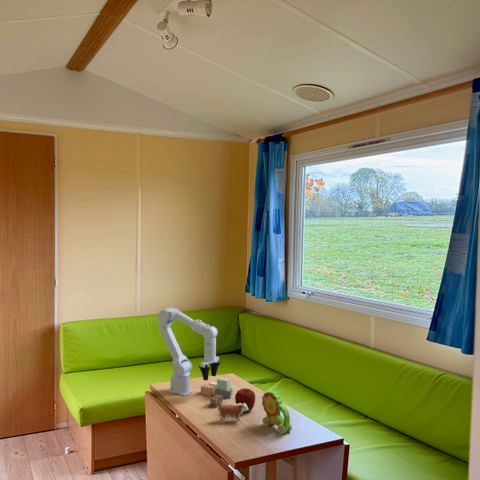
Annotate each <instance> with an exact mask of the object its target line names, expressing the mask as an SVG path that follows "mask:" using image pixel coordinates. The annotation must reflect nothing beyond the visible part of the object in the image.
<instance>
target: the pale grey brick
mask: <svg viewBox="0 0 480 480" xmlns="http://www.w3.org/2000/svg"><path fill="white" fill-rule="evenodd" d="M208 385H210V386H214V393H215V389H216V388H217V381H211V382H209V383H208Z"/></svg>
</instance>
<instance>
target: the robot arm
mask: <svg viewBox="0 0 480 480" xmlns="http://www.w3.org/2000/svg"><path fill="white" fill-rule="evenodd" d="M157 320H158V330H159V331H160V333H161V336H162V338H163V340H164V343H165V345H166V347H167V349H168V351H169V353H170V355H171V358H172V364H171V365H172V368H173V369H172V370H173V374H172V375H171V377H170V390H169V393H171V394H176V395H179V396H187V395H188V394H190V393H192V392H194V390H193V389H190V385H191V383H190V382H191V381H190V379H191V377H190V376H191V371H192V369H193V364H192V362H191V361H190V360H189V358H188V357H187V356H186V355H185V354H183V352H182V350H181V347H180V345H179V343H178V341H177V339H176V337H175V335H174V333H173V330H172V328H171V326H172V324H173V322H174V321H179V322H180V323H183V324H186V325H187V326H189V327H191V330H192V331H193V332H196V333H198V334H199V335H201V336H202V338H203V339H204V345H203V346H204V352H203V354H204V355H203V360H202V361H201V362H200V364H199V365H198V366H199V367H198V368H199V369H200V372H201V375H202V379H203V381H208V380H209V374H211V376H212V377H216V376H217V372H218V368H219V366H221V362H220V356H216V355H217V351H216V350H217V336H218V333H219V331H218V328H217V327H216V326H214V325H211V326H210V324H207V323H205V322H203V321H202V320H201V319H195V320H194V319H193V318H191V317H190V316H188V315H186V313H184V312H182V311H180V310H179V309H177V308H176V307H175V306H169V307H168V308H164V309H161V310H159V312H158V315H157ZM209 366H210V367H209Z"/></svg>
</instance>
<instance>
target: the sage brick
mask: <svg viewBox="0 0 480 480" xmlns="http://www.w3.org/2000/svg"><path fill="white" fill-rule="evenodd" d="M231 380H232V379H231V378H226V377H222V376H220V377H218V378H217V379H216V382H217V389H220V390H224V391H228V390H230V389H231V388H232V387H231V385H232V384H231Z"/></svg>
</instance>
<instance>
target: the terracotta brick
mask: <svg viewBox="0 0 480 480" xmlns="http://www.w3.org/2000/svg"><path fill="white" fill-rule="evenodd" d="M200 394H201V395H205V396H209V397H211V396H213V395H215V392H214V386H210V385H209V384H202V385H201V386H200Z"/></svg>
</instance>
